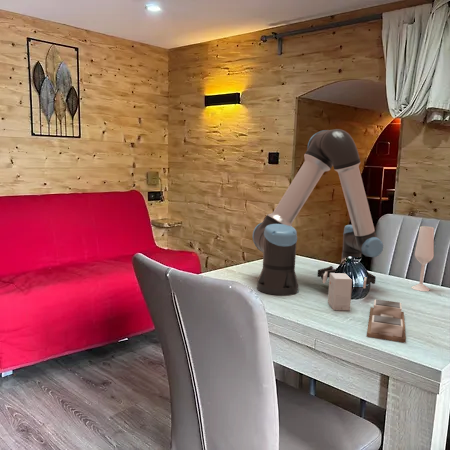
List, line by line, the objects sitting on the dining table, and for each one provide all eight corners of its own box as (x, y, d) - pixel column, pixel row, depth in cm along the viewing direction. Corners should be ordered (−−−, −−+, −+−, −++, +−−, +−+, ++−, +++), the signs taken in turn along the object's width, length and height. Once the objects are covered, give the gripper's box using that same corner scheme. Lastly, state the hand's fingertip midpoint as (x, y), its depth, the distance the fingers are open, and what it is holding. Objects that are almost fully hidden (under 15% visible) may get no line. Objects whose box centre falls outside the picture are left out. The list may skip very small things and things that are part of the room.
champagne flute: (407, 287, 175) (413, 226, 171) (417, 285, 179) (423, 225, 175) (424, 292, 169) (430, 229, 166) (433, 289, 173) (440, 227, 170)
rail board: (366, 336, 124) (367, 321, 123) (370, 310, 146) (371, 297, 146) (405, 342, 121) (407, 327, 120) (403, 314, 143) (404, 301, 142)
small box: (350, 311, 145) (352, 279, 143) (332, 310, 145) (335, 278, 143) (343, 303, 153) (346, 272, 151) (327, 302, 153) (329, 272, 151)
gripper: (382, 281, 171) (381, 297, 152) (315, 274, 180) (307, 287, 160) (383, 262, 170) (383, 275, 150) (317, 255, 178) (308, 267, 159)
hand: (343, 281), depth 155 cm, fingers open, 13 cm apart
